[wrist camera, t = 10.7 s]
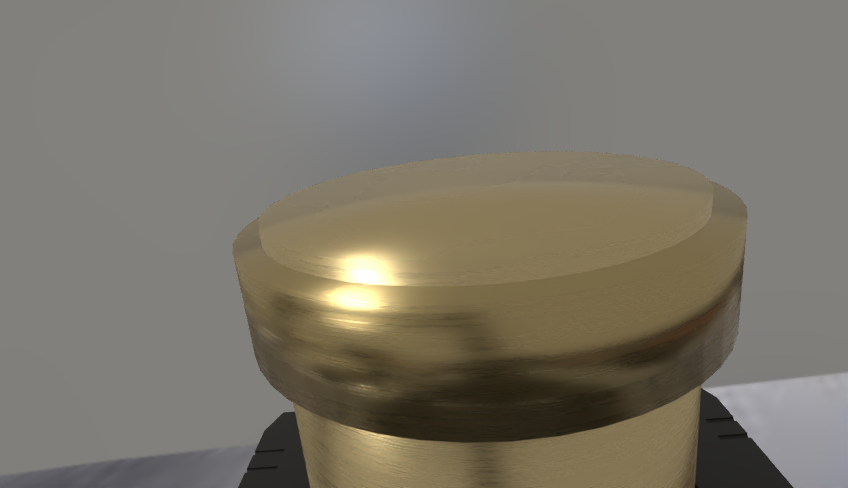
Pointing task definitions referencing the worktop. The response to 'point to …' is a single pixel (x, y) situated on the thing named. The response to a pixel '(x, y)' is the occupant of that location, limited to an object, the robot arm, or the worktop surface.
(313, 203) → the gold metal cylinder
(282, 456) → the robot arm
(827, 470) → the worktop surface
